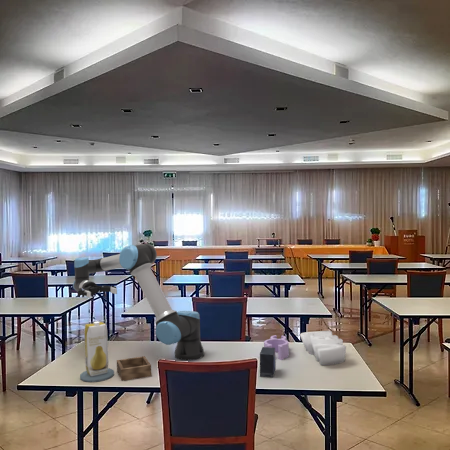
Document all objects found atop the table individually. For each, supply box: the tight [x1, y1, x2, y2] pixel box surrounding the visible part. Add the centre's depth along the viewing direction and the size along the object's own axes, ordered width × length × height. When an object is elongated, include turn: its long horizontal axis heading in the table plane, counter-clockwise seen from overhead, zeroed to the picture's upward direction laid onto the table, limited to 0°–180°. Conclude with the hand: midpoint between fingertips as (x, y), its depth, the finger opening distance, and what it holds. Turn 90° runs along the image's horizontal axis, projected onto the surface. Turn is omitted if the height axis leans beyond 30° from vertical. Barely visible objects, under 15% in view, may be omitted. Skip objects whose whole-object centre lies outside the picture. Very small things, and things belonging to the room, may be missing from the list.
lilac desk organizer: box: [263, 334, 290, 361], centre depth 230 cm, size 20×12×7 cm, turn 167°
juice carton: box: [83, 321, 109, 377], centre depth 204 cm, size 9×8×24 cm
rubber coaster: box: [79, 367, 115, 383], centre depth 204 cm, size 15×15×1 cm
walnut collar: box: [116, 355, 152, 382], centre depth 206 cm, size 13×14×5 cm
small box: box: [259, 346, 277, 378], centre depth 202 cm, size 11×6×10 cm, turn 168°
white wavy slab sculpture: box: [299, 330, 347, 366], centre depth 223 cm, size 35×16×10 cm, turn 4°
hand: (103, 293), depth 222 cm, fingers open, 13 cm apart
